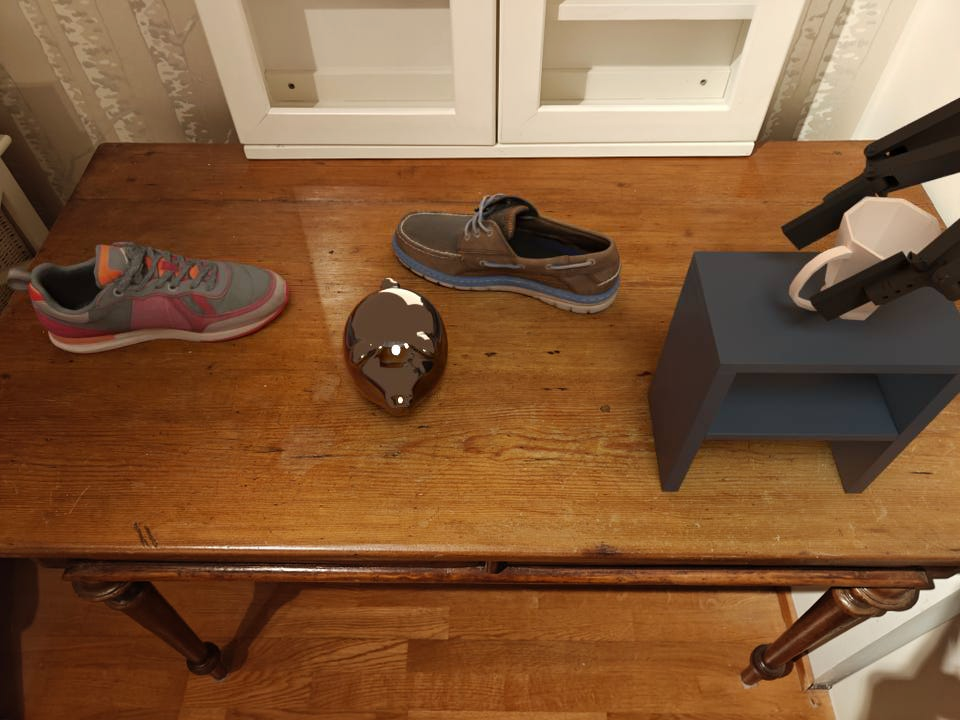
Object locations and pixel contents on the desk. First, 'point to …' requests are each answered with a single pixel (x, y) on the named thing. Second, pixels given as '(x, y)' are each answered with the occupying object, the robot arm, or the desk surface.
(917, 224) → the cup
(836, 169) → the desk surface
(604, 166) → the desk surface
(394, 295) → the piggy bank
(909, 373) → the shelf
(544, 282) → the boat shoe
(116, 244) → the sneaker
